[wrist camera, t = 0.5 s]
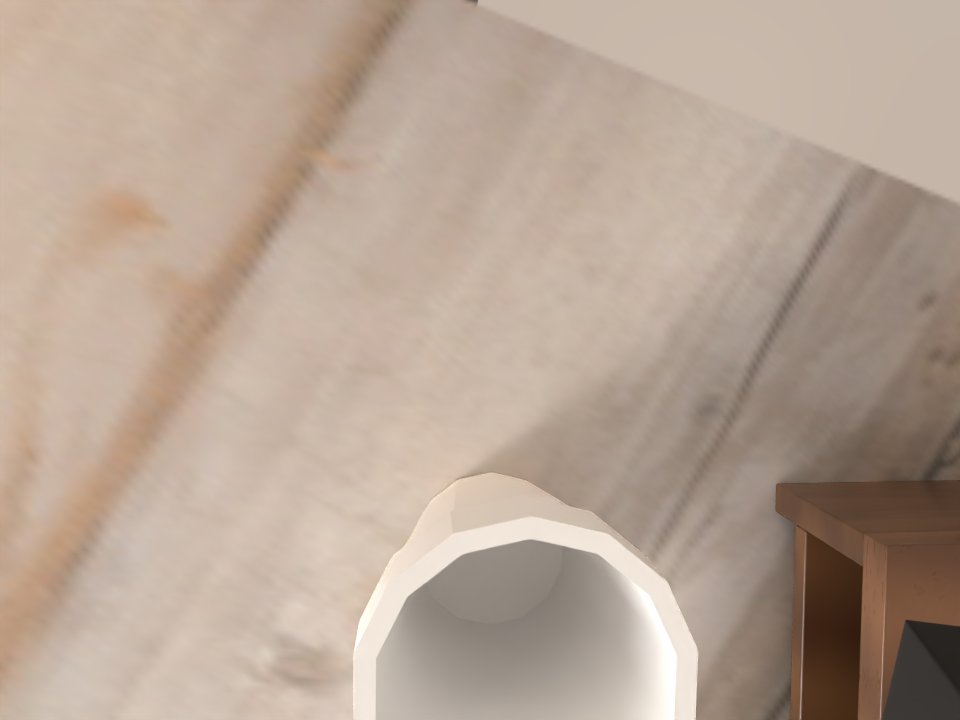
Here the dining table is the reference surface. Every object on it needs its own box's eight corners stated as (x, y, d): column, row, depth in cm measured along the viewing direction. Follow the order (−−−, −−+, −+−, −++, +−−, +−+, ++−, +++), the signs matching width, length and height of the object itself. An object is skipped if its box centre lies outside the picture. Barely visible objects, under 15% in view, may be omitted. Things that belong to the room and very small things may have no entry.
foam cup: (466, 702, 38) (491, 922, 25) (328, 532, 37) (277, 668, 24) (646, 563, 38) (766, 710, 25) (513, 389, 37) (564, 447, 24)
